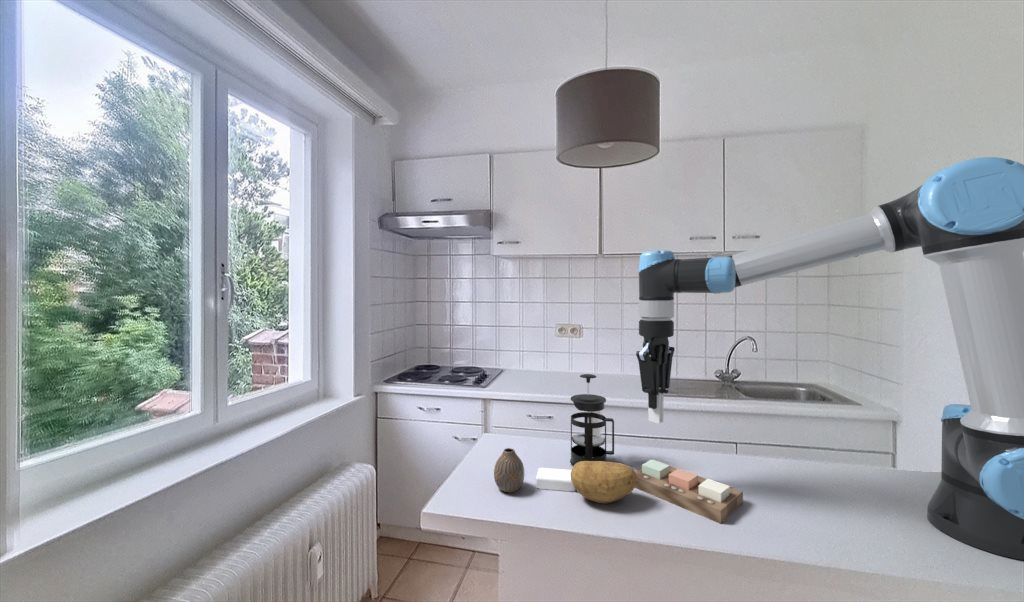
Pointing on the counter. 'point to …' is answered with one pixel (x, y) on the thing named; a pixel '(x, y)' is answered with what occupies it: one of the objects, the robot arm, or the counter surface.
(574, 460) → the french press
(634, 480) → the potato
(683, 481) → the terracotta button
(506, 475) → the vase
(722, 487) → the cream button
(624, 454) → the counter surface
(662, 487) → the console
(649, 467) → the sage button
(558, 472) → the soap
